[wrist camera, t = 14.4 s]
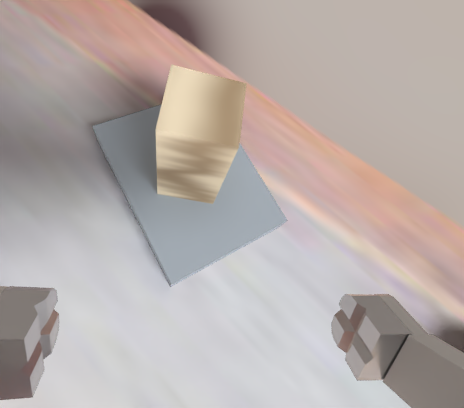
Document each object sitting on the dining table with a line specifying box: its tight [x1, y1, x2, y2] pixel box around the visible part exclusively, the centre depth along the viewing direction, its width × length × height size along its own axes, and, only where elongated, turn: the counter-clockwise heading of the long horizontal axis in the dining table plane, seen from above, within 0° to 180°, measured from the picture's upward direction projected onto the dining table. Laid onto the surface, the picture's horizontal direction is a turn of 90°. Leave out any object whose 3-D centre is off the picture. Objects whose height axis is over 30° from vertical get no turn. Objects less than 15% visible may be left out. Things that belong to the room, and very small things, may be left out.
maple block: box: [156, 65, 246, 204], centre depth 23 cm, size 5×5×10 cm
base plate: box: [92, 104, 288, 287], centre depth 29 cm, size 16×12×3 cm
